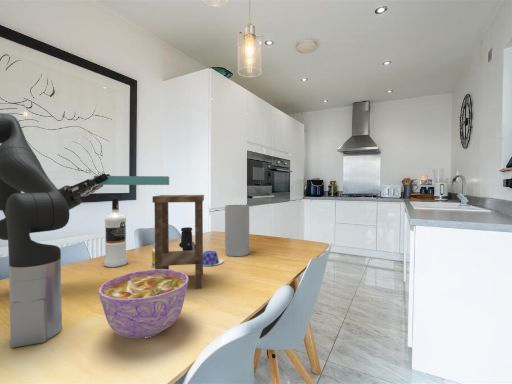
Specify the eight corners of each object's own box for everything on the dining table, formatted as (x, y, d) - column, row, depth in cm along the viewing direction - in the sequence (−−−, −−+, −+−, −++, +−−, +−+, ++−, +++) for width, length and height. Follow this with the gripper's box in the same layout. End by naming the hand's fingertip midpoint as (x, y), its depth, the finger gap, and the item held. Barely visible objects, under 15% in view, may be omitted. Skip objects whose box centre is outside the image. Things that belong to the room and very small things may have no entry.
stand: (153, 292, 86) (152, 196, 86) (162, 275, 102) (161, 195, 101) (202, 288, 89) (202, 196, 88) (204, 273, 105) (203, 194, 104)
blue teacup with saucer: (200, 268, 112) (200, 256, 112) (193, 261, 122) (193, 250, 122) (227, 264, 117) (227, 253, 117) (217, 258, 128) (217, 247, 128)
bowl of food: (161, 303, 78) (161, 264, 78) (205, 326, 65) (205, 279, 65) (85, 332, 62) (84, 284, 62) (123, 369, 50) (122, 309, 49)
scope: (194, 229, 127) (175, 229, 129) (194, 258, 127) (175, 257, 129) (201, 227, 135) (183, 226, 137) (201, 254, 135) (183, 253, 137)
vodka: (117, 260, 123) (117, 197, 122) (132, 263, 119) (131, 197, 119) (99, 266, 114) (98, 197, 114) (114, 268, 111) (113, 198, 110)
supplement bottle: (160, 267, 112) (160, 245, 112) (149, 267, 113) (149, 244, 113) (167, 264, 117) (167, 242, 117) (156, 263, 118) (156, 242, 118)
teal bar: (94, 184, 88) (93, 175, 88) (97, 184, 91) (97, 176, 91) (167, 184, 92) (167, 176, 92) (169, 184, 95) (169, 176, 95)
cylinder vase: (221, 255, 131) (220, 206, 131) (230, 250, 143) (230, 204, 143) (244, 257, 128) (244, 206, 127) (252, 251, 140) (252, 205, 139)
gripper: (41, 192, 81) (93, 164, 83) (66, 191, 95) (110, 168, 97) (54, 212, 82) (106, 185, 84) (77, 209, 96) (121, 185, 98)
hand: (108, 176), depth 91 cm, fingers closed on teal bar, 3 cm apart
